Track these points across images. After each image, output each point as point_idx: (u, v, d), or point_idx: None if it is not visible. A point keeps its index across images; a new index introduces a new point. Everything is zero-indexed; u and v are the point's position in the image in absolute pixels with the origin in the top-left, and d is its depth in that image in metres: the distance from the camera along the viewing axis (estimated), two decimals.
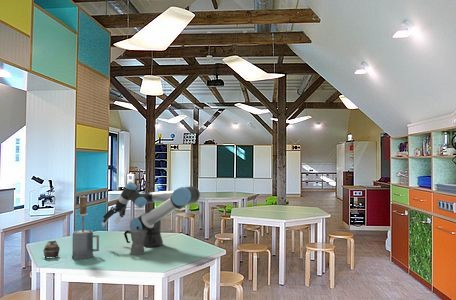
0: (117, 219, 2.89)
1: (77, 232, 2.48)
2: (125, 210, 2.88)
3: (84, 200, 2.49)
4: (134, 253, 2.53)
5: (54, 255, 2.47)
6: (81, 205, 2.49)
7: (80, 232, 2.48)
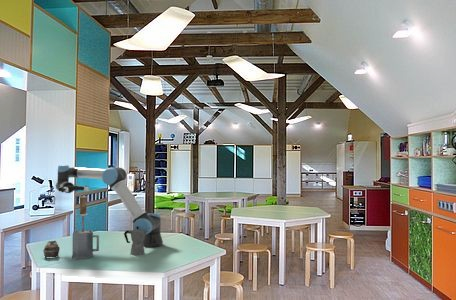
0: (85, 188, 2.66)
1: (77, 232, 2.48)
2: (82, 186, 2.74)
3: (84, 200, 2.49)
4: (134, 253, 2.53)
5: (54, 255, 2.47)
6: (81, 205, 2.49)
7: (80, 232, 2.48)
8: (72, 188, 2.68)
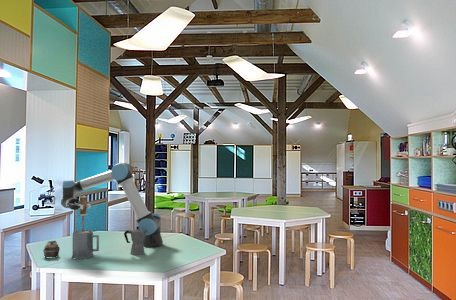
0: (87, 206, 2.50)
1: (77, 232, 2.48)
2: None
3: (84, 200, 2.49)
4: (134, 253, 2.53)
5: (54, 255, 2.47)
6: None
7: (80, 232, 2.48)
8: None
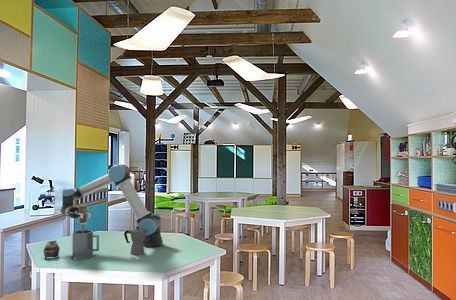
0: (87, 215, 2.50)
1: None
2: (87, 211, 2.60)
3: (84, 209, 2.49)
4: (134, 253, 2.53)
5: (54, 255, 2.47)
6: None
7: None
8: None
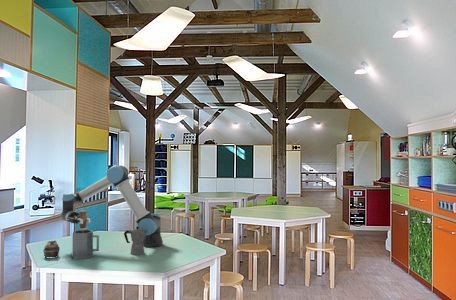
0: (87, 220, 2.50)
1: None
2: (87, 216, 2.60)
3: (84, 214, 2.49)
4: (134, 253, 2.53)
5: (54, 255, 2.47)
6: None
7: None
8: None
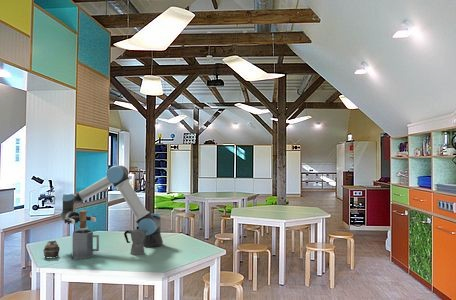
0: (92, 219, 2.54)
1: None
2: None
3: (84, 214, 2.49)
4: (134, 253, 2.53)
5: (54, 255, 2.47)
6: (81, 219, 2.48)
7: None
8: (78, 219, 2.57)
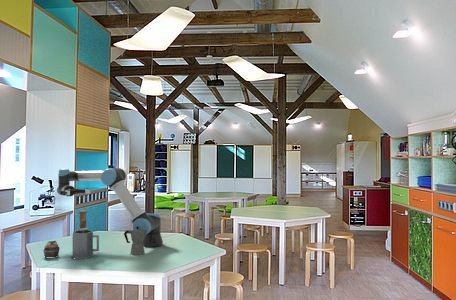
0: (87, 191, 2.69)
1: None
2: (83, 189, 2.77)
3: (84, 214, 2.49)
4: (134, 253, 2.53)
5: (54, 255, 2.47)
6: (81, 219, 2.48)
7: None
8: (73, 191, 2.71)
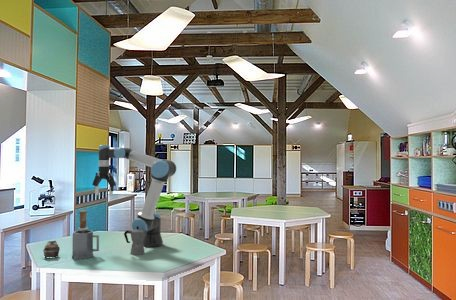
0: (97, 190, 2.84)
1: None
2: None
3: (84, 214, 2.49)
4: (134, 253, 2.53)
5: (54, 255, 2.47)
6: (81, 219, 2.48)
7: None
8: (103, 178, 2.81)
